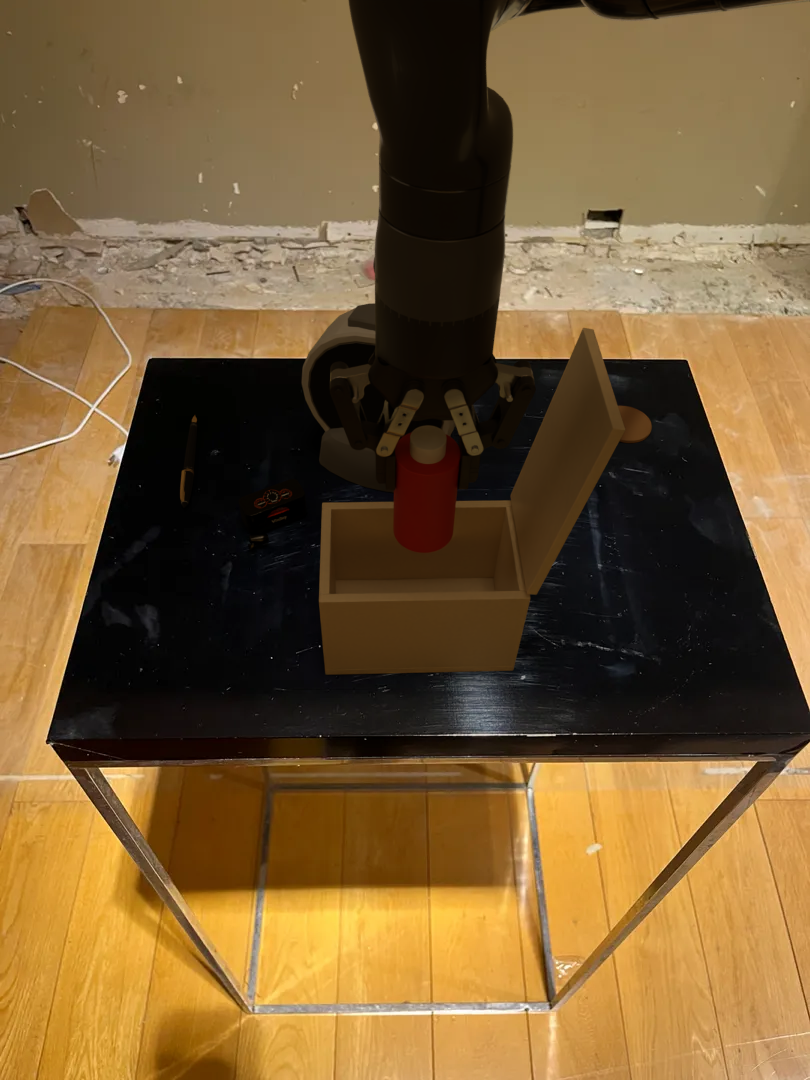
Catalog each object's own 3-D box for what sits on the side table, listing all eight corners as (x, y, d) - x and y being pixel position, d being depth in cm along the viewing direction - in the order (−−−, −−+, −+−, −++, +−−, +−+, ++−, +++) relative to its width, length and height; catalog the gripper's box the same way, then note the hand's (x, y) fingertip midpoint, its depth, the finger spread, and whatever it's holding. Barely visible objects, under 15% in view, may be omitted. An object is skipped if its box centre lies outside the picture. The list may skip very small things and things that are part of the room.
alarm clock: (296, 466, 89) (281, 323, 75) (334, 409, 95) (327, 266, 81) (437, 508, 85) (450, 365, 72) (468, 445, 92) (484, 303, 78)
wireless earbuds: (233, 523, 83) (228, 501, 81) (297, 499, 86) (295, 477, 83) (251, 554, 81) (247, 533, 78) (317, 528, 83) (315, 507, 81)
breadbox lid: (613, 428, 51) (626, 429, 52) (582, 327, 58) (593, 328, 58) (526, 594, 64) (536, 595, 65) (509, 495, 71) (519, 496, 71)
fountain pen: (190, 419, 93) (188, 408, 92) (201, 418, 93) (199, 408, 92) (179, 512, 84) (176, 502, 83) (191, 512, 84) (188, 502, 83)
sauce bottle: (459, 515, 67) (468, 422, 60) (445, 558, 64) (453, 467, 57) (402, 502, 68) (404, 409, 60) (386, 545, 65) (386, 453, 57)
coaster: (652, 413, 96) (653, 411, 96) (648, 447, 92) (649, 445, 92) (601, 403, 97) (602, 401, 97) (595, 437, 93) (595, 434, 93)
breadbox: (325, 674, 72) (318, 602, 64) (327, 579, 79) (322, 502, 71) (513, 670, 73) (530, 598, 65) (499, 576, 80) (513, 499, 72)
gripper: (315, 318, 46) (329, 520, 59) (568, 316, 47) (527, 517, 60) (318, 247, 51) (331, 448, 64) (547, 246, 52) (514, 446, 65)
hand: (426, 481), depth 62 cm, fingers closed on sauce bottle, 4 cm apart
